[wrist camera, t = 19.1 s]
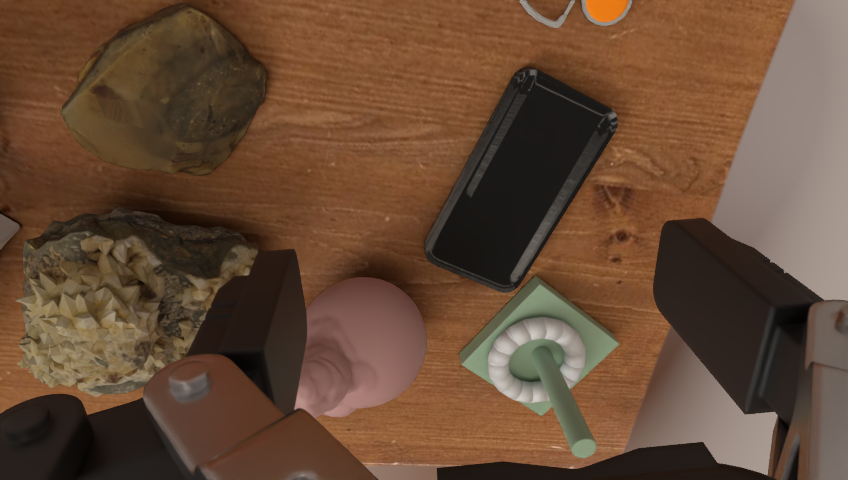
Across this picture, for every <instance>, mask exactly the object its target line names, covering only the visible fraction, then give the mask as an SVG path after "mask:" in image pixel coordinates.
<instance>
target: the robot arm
mask: <svg viewBox="0 0 848 480" xmlns="http://www.w3.org/2000/svg"><path fill="white" fill-rule="evenodd" d="M653 293H654V299H655V302H656V305H657V307H658V309H659V311H660V312H661V314H662V315H663V316H664V317H665V318H666V320H667V321H668V322H669V323H670V324H671V326H672V327H673V328H674V329H675V330H676V332H677V333H678V334H679V335H680V336H681V338H682V339H683V340H684V341H685V342H686V344H687V345H688V346H689V347H690V348H691V350H692V351H693V352H694V353H695V355H696V356H697V357H698V358H699V359H700V361H701V362H702V363H703V364H704V365H705V367H706V368H707V369H708V370H709V371H710V373H711V374H712V375H713V376H714V377H715V379H716V380H717V381H718V382H719V384H720V385H721V386H722V387H723V388H724V390H725V391H726V392H727V393H728V394H729V396H730V397H731V398H732V399H733V400H734V402H735V403H736V404H737V405H738V406H739V408H740V409H741V410H742V411H743V413H744V414H755V413H765V412H776V414H777V415H778V417H777V420H776V424H775V427H774V430H773V436H772V445H771V453H770V461H769V469H768V476H767V475H764V474H761V473H758V472H755V471H751V470H748V469H745V468H741V467H736V466H731V465H726V464H719V463H717V462H716V460H715V459H714V458H713V456H712V455H711V453H710V452H709V450H708V449H707V447H706V446H705V444H704V443H703V442H698V443H687V444H677V445H668V446H657V447H647V448H638V449H635V450H632V451H630V452H627V453H624V454H621V455H618V456H615V457H612V458H609V459H606V460H604V461H601V462H598V463H595V464H592V465H589V466H586V467H583V468H579V469H567V468H558V467H549V466H539V465H530V464H521V463H512V462H494V463H484V464H474V465H464V466H453V467H443V468H437V479H438V480H848V301H845V300H823V299H822V298H821V297H819V296H818V295H816V294H815V293H814V292H812V291H811V290H810V289H808V288H807V287H806V286H804V285H803V284H802V283H800V282H799V281H798V280H796V279H795V278H793V277H792V276H791V275H790V274H788V273H784V270H783V269H781V268H780V267H779V266H777V265H776V264H775V263H770V260H769V259H768V258H767V257H765V256H764V255H763V254H761V253H760V252H758V251H757V250H756V249H755V248H753V247H750V246H748V245H746V244H744V243H741V242H739V241H736V240H734V239H732V238H730V237H729V236H727V235H726V234H725V233H723V232H722V231H721V230H720V229H718V228H717V227H716V226H714V225H713V224H712V223H710V222H709V221H708V220H706V219H704V218H696V219H684V220H671V221H667V222H666V223H665V224H664V226H663V228H662V231H661V236H660V243H659V249H658V256H657V263H656V269H655V276H654V283H653ZM306 342H307V315H306V308H305V302H304V296H303V290H302V284H301V277H300V271H299V265H298V260H297V255H296V252H295V250H294V249H287V250H274V251H261V252H258V253H257V255H256V258H255V260H254V262H253V265H252V267H251V270H250V272H249V275H244V276H234V277H233V278H232V279H230V280H229V281H228V282H227V283H226V284H224V285H223V286H222V287H221V288H220V289H218V291H217V293H216V295H215V297H214V299H213V301H212V303H211V308H209V309H208V311H207V313H206V315H205V320H203V322H202V324H201V326H200V328H199V330H198V332H197V334H196V336H195V338H194V340H193V342H192V345H191V347H190V349H189V351H188V353H187V355H186V357H185V358H182V359H179V360H177V361H174V362H172V363H170V364H168V365H167V366H165V367H163V368H162V369H160V370H159V371H158V372H156V373H155V374H154V375H153V376H152V377H151V378H150V379H149V381H148V382H147V383H146V385H145V387H144V390H143V398H141V399H138V400H136V401H133V402H130V403H127V404H123V405H120V406H117V407H113V408H110V409H106V410H103V411H100V412H96V413H93V414H90V415H87V413H86V411H85V408H84V406H83V404H82V402H81V400H79V399H78V398H77V397H75V396H72V395H68V394H51V395H45V396H40V397H36V398H33V399H30V400H27V401H24V402H22V403H20V404H17V405H15V406H13V407H11V408H9V409H7V410H6V411H4V412H2V413H1V414H0V480H378V479H377V478H376V477H375V476H374V475H373V474H372V473H371V472H370V471H369V470H368V469H367V468H366V467H365V466H364V465H363V464H362V463H361V462H360V461H359V460H358V459H357V458H355V457H354V456H353V455H352V454H351V453H350V452H349V451H348V450H347V449H346V448H345V447H344V446H343V445H342V444H341V443H340V442H339V441H338V440H337V439H336V438H335V437H334V436H333V435H332V434H331V433H330V432H328V431H327V430H326V429H325V428H324V427H323V426H322V425H321V424H320V423H319V422H318V421H317V420H316V419H315V418H314V417H313V416H312V415H311V414H310V413H308V412H307V411H306V410H304V409H302V408H297V409H296V410H294V409H295V403H296V398H297V392H298V387H299V381H300V376H301V370H302V364H303V359H304V353H305V348H306Z"/></svg>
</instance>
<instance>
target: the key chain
mask: <svg viewBox="0 0 848 480" xmlns="http://www.w3.org/2000/svg"><path fill="white" fill-rule="evenodd" d="M520 2H521V4H522V6H523V7H524V8H525V10H526V11H527V12H528V13H529V14H530V15H531V16H532V17H533V18H534V19H536V20H537V21H539V22H541V23H543V24H545V25H547V26H550V27H554V28H558V27H560V26H561V25H562V23H563V22H564V21H565V20H566V19H567V18H566V16H567V14H568V13H569V11H570V9H571V7H572V6H573V4H574V2H575V0H571V2H570V3H569V5H568V7H567V9H566V11H565V12H564V14H563V15H561V16H560V17H559V19H558V20H557V21H552V20H549V19H547V18H545V17H544V16H542V15H540V14H539V13H538V12H536V11H535V10H534V9H533V8H532V7H531V6H530V4H529V3H528V2H527V0H520ZM581 3H582V10H583V12H584V14H585V16H586V18H587V19H588V20H589V21H591V22H592V23H594V24H596V25H601V26H608V25H612V24H615V23H617V22H618V21H619V20H621V19H622V18H624V16H625V15H626V13H627V12H628V10H629V9H630V7H631V3H632V0H581Z"/></svg>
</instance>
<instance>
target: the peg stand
mask: <svg viewBox="0 0 848 480" xmlns="http://www.w3.org/2000/svg"><path fill="white" fill-rule="evenodd" d="M538 317H548V318H552V319H557V320H561V321H563V322H565V323H566V324H568V325H569V326H571V327H572V328H573V329H575V330H576V331H577V332H578V334H579V336H580V338H581V339H582V341H583V343H584V345H585V366H584V369H583V371H582V373H581V375H580V377H579V379H578V381H577V382H576V383H575V384H574V385H572V386H571V387H570V388H569V387H568V385H567V383H566V381H565V379H564V377H563V375H562V373H561V371H560V369H559V368H560V367H561V365H562V363H563V360H564V350H563V349H562V347H561V345H560V344H558V343H557V342H555V341H554V340H549V339H544V338H543V339H536V340H531V341H529V342H527V343H525V344H523V345H521V346H519V347H518V348H517V350H516V351H515V352H514V353H513V354H512V356H511V358H510V361H509V370H510V372H511V374H512V375H513V376H514V377H516V378H517V379H519V380H521V381H527V382H535V381H542V383H543V386H544V388H545V390H546V393H547V395H548V397H549V400H548V401H542V402H535V403H527V402H521V401H519V402H520V403H522V404H523V405H525V406H526V407H528V408H530V409H531V410H533V411H534V412H536V413H537V414H539V415H540V416H543V415H544V414H545V413H546V412H547V411H548V410H549V409H550V408H551V407H553V409H554V411H555V414H556V416H557V418H558V421H559V423H560V425H561V428H562V430H563V432H564V435H565V437H566V439H567V442H568V444H569V446H570V449H571V451H572V453H573V455H575V456H576V457H578V458H586V457H589V456H591V455H592V454H593V453H594V452H595V451H596V447H597V445H596V442H595V440H594V438H593V436H592V434H591V432H590V430H589V428H588V426H587V424H586V422H585V420H584V418H583V416H582V414H581V412H580V410H579V408H578V405H577V403H576V401H575V399H574V397H573V395H572V393H571V391H570V390H571V389H572V388H573V387H574V386H575V385H576V384H577V383H578V382H579V381H580V380H581V379H582V378H583V377H585V376H586V375H587V374H588V373H589V372H590V371H591V370H592V369H593V368H594V367H595V366H596V365H597V364H599V363H600V362H601V361H602V360H603V359H604V358H605V357H606V356H607V355H608V354H609V353H610V352H611V351H613V350H614V349H615V348H616V347H617V346H618V345H619V342H618V341H617V339H616V338H615V336H614V335H613V333H611V332H610V331H609V330H607V329H606V328H605V327H603V326H602V325H601V324H599V323H598V322H597V321H595V320H594V319H593V318H591V317H590V316H589V315H587V314H586V313H585V312H583V311H582V310H581V309H580V308H578V307H577V306H576V305H574V304H573V303H572V302H570V301H569V300H568V299H566V298H565V297H564V296H562V295H561V294H560V293H558V292H557V291H556V290H554V289H553V288H552V287H550V286H549V285H548V284H546V283H545V282H544V281H543V280H541V279H540V278H539V277H537V276H536V275H535V276H534V277H533V278H532V279H531V280H530V281H529V282H528V283H527V284H526V285H525V286H524V287H523V288H522V289H521V290H520V291H519V292H518V293H517V294H516V295H515V296H514V297H513V298H512V299H511V300H510V302H509V303H508V304H507V305H506V306H505V307H504V308H503V309H502V310H501V311H500V312H499V313H498V314H497V315H496V316H495V317H494V318H493V319H492V320H491V321H490V322H489V323H488V324H487V325H486V326H485V327H484V328H483V329H482V330H481V331H480V332H479V333H478V334H477V336H476V337H475V338H474V339H473V340H472V341H471V342H470V343H469V344H468V345H467V346H466V347H465V348H464V349H463V350H462V351H461V352H460V353H459V356H460V360H461V364H462V365H463V366H465V367H466V368H468V369H469V370H471V371H472V372H474V373H475V374H477V375H478V376H480V377H482V378H483V379H485V380H486V381H488V382H489V383H491V384H492V385H494V383H493V382H492V380H491V379H490V377H489V372H488V356H489V353H490V351H491V348H492V346H493V343H494V341H495V340H496V339H497V338H498V337H499V336H500V335H501V334H502V333H503V332H504V331H505V330H506V329H507V328H508V327H510V326H512V325H514V324H516V323H518V322H520V321H522V320H524V319H530V318H538ZM494 386H495V385H494ZM495 387H496V386H495Z"/></svg>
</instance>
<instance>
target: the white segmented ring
mask: <svg viewBox="0 0 848 480" xmlns="http://www.w3.org/2000/svg"><path fill="white" fill-rule="evenodd" d="M543 338H544V339H549V340H554V341H555V342H557V343H558V344H560V345H561V347H562V349H563V350H564V360H563V363H562V365H561V367H560V368H559V369H560V371H561V373H562V375H563V377H564V379H565V381H566V383H567V385H568V387H569V388H570V387H571V386H572V385H574V384H575V383H576V382H577V381H578V379H579V377H580V375H581V373H582V371H583V369H584V366H585V345H584V343H583V341H582V339H581V338H580V336H579V334H578V332H577V331H576V330H575V329H573V328H572V327H571V326H569V325H568V324H566V323H565V322H563V321H561V320H557V319H552V318H548V317H538V318H530V319H524V320H522V321H520V322H518V323H516V324H514V325H512V326H510V327H508V328H507V329H506V330H505V331H504V332H503V333H502V334H501V335H500V336H499V337H498V338H497V339H496V340H495V341H494V343H493V346H492V348H491V351H490V353H489V356H488V372H489V377H490V379H491V380H492V382H493V383H494V385H495V386H496V388H497V389H498V391H500V392H501V393H503V394H504V395H506V396H507V397H509V398H511V399H512V400H516V401H521V402H527V403H535V402H542V401H548V400H549V397H548V395H547V393H546V390H545V388H544V386H543V383H542V381H535V382H527V381H521V380H519V379H517V378H516V377H514V376H513V375H512V374H511V372H510V370H509V361H510V358H511V356H512V354H513V353H514V352H515V351H516V350H517V348H518V347H519V346H521V345H523V344H525V343H527V342H529V341H531V340H536V339H543Z"/></svg>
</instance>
